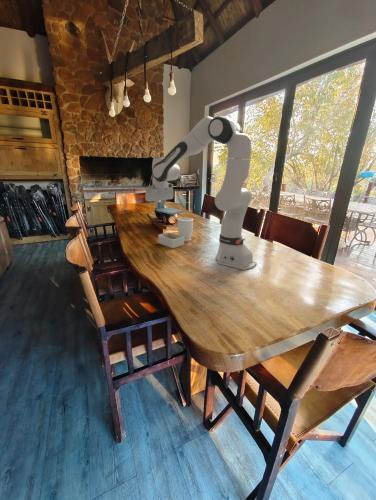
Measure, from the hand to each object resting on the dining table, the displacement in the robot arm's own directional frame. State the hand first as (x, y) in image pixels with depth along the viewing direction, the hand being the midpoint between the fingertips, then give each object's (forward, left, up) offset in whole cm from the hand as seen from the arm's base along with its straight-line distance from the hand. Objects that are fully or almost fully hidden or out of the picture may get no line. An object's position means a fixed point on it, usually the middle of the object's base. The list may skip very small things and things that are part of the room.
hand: (160, 207), depth 151 cm
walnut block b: (-6, -1, -22) cm, 23 cm away
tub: (-9, -1, -23) cm, 25 cm away
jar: (-8, -15, -23) cm, 29 cm away
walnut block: (-12, -1, -22) cm, 26 cm away
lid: (-7, 0, -2) cm, 7 cm away
